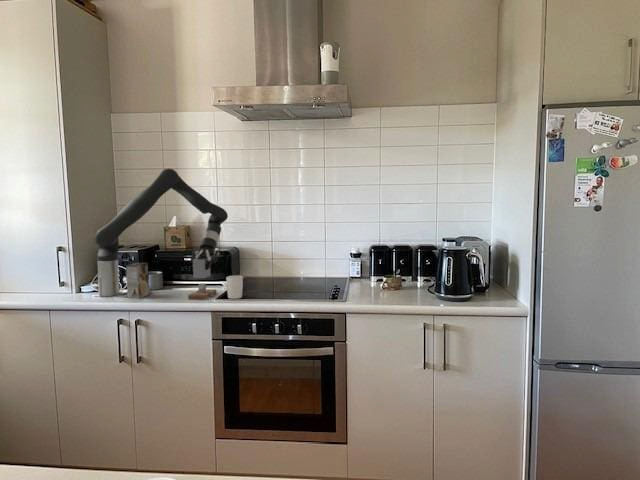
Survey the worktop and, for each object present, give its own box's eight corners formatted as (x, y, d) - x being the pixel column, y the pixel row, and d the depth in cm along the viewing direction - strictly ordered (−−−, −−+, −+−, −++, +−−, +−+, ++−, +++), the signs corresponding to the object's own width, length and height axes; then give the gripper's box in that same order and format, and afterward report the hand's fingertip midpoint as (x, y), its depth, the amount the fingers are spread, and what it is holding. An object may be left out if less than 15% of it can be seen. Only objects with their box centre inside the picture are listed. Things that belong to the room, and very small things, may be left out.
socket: (193, 277, 216) (192, 259, 215) (199, 275, 222) (198, 257, 221) (205, 278, 215) (204, 259, 214) (210, 275, 221) (209, 257, 220)
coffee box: (138, 294, 225) (137, 262, 224) (149, 294, 224) (148, 262, 222) (127, 298, 216) (125, 265, 215) (139, 298, 215) (137, 265, 213)
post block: (204, 299, 212) (203, 287, 211) (188, 299, 213) (187, 286, 213) (216, 293, 226) (215, 281, 225) (201, 293, 227) (200, 281, 226)
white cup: (235, 294, 223) (234, 274, 222) (246, 296, 218) (246, 276, 217) (223, 297, 216) (222, 277, 215) (234, 300, 212) (234, 279, 211)
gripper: (193, 236, 225) (183, 263, 215) (221, 237, 223) (211, 264, 212) (199, 246, 231) (189, 272, 221) (225, 246, 228) (216, 273, 218)
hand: (200, 268), depth 216 cm, fingers closed on socket, 6 cm apart
